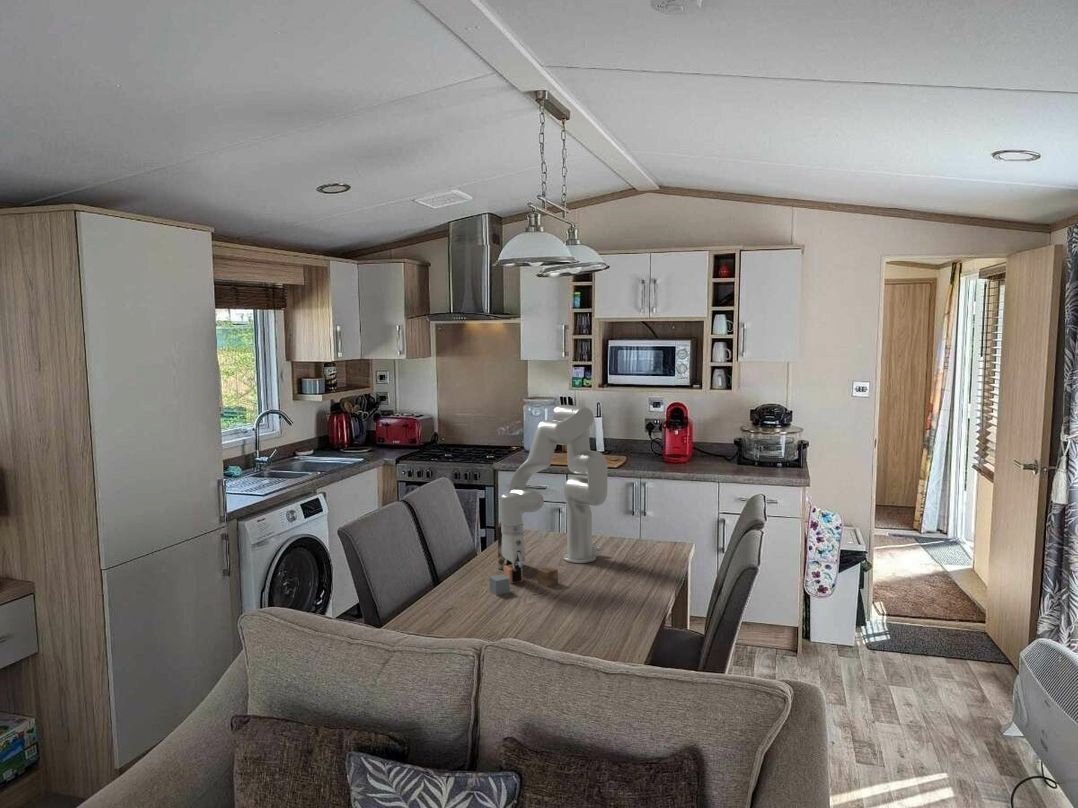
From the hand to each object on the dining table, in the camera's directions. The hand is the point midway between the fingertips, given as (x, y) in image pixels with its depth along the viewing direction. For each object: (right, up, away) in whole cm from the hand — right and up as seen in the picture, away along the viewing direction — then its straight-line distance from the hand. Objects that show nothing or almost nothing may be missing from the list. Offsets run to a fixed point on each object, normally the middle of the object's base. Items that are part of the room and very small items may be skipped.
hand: (513, 578), depth 265 cm
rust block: (0, -1, 0) cm, 1 cm away
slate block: (-4, -2, -11) cm, 12 cm away
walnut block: (+12, -1, -4) cm, 13 cm away
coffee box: (-1, +1, +15) cm, 15 cm away
